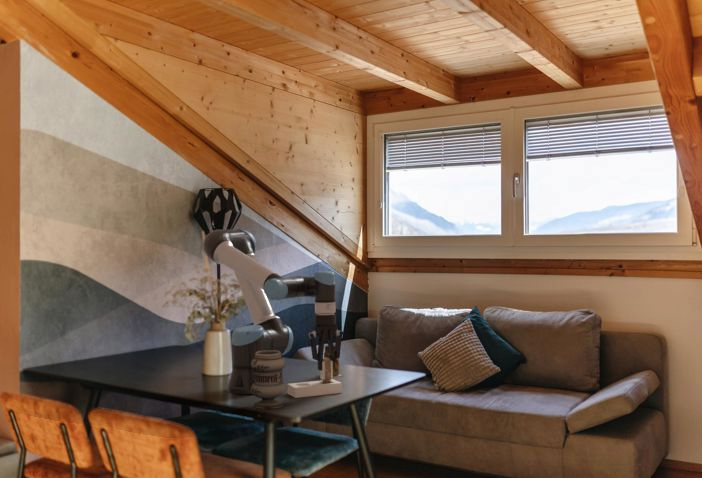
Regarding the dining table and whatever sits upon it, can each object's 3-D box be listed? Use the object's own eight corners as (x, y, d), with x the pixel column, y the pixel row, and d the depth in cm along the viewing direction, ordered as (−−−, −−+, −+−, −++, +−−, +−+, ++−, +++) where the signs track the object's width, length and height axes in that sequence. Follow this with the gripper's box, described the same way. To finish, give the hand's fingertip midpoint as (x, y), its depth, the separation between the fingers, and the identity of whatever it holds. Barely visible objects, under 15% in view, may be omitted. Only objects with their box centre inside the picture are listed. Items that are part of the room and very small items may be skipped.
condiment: (343, 375, 291) (342, 346, 291) (325, 378, 286) (325, 348, 286) (333, 373, 297) (333, 344, 297) (316, 375, 292) (315, 346, 292)
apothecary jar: (250, 410, 232) (250, 355, 232) (250, 402, 244) (249, 349, 244) (287, 408, 234) (287, 353, 234) (285, 400, 246) (284, 348, 246)
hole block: (295, 397, 250) (295, 387, 250) (287, 393, 258) (287, 383, 258) (342, 392, 258) (342, 383, 258) (333, 388, 265) (333, 379, 265)
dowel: (324, 387, 258) (324, 359, 258) (321, 385, 260) (320, 358, 260) (332, 386, 259) (331, 358, 259) (328, 384, 262) (328, 357, 262)
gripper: (309, 315, 253) (310, 382, 253) (349, 313, 260) (350, 378, 259) (301, 314, 260) (302, 379, 260) (340, 311, 266) (341, 375, 266)
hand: (326, 378), depth 260 cm, fingers closed on dowel, 2 cm apart
